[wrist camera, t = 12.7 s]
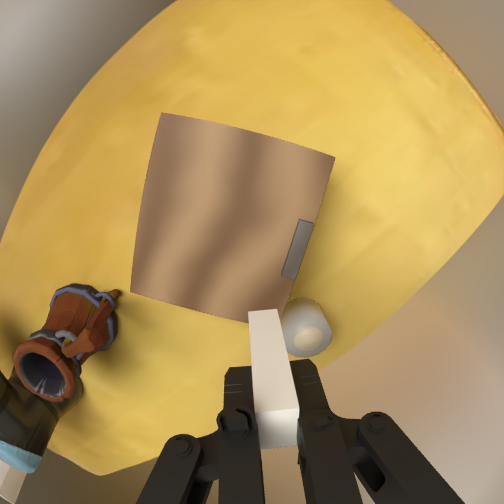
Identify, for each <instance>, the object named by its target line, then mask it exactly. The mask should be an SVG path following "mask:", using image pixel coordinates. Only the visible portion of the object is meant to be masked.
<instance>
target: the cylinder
mask: <svg viewBox="0 0 504 504" xmlns="http://www.w3.org/2000/svg"><path fill="white" fill-rule="evenodd" d="M25 476H26V473H25V472H22V471H20V470H17V469H15V468H13V467H12V466H10V465H8V464H6V463H5V462H3V461H2V460H0V496H1V497H2V498H4V499H5V500H7V501H9V502H10V503H12V504H15V502H16V499H17V496H18V493H19V491H20V488H21V486H22V483H23V481H24V478H25Z"/></svg>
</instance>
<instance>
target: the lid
mask: <svg viewBox="0 0 504 504" xmlns="http://www.w3.org/2000/svg"><path fill="white" fill-rule="evenodd" d="M334 161H335V157H333V156H330V155H327V154H325V153H322V152H319V151H316V150H313V149H310V148H307V147H304V146H300V145H297V144H294V143H291V142H288V141H284V140H281V139H277V138H274V137H270V136H267V135H263V134H260V133H256V132H252V131H248V130H244V129H240V128H236V127H232V126H228V125H224V124H219V123H215V122H210V121H205V120H200V119H195V118H190V117H185V116H180V115H174V114H168V113H162V112H161V115H160V119H159V123H158V127H157V131H156V135H155V139H154V143H153V147H152V151H151V156H150V160H149V165H148V170H147V175H146V180H145V185H144V190H143V195H142V201H141V207H140V213H139V220H138V226H137V233H136V241H135V248H134V257H133V266H132V276H131V287H130V292H132V293H136V294H139V295H142V296H145V297H149V298H152V299H156V300H159V301H163V302H166V303H170V304H173V305H177V306H181V307H184V308H188V309H192V310H196V311H199V312H203V313H207V314H211V315H215V316H219V317H223V318H228V319H232V320H236V321H240V322H245V323H249V319H248V312H249V311H260V310H270V309H277V311H278V315H279V319H281V316H282V314H283V311H284V308H285V306H286V303H287V300H288V298H289V295H290V292H291V290H292V287H293V284H294V281H295V279H296V276H297V273H298V270H299V268H300V265H301V262H302V259H303V256H304V253H305V250H306V248H307V245H308V242H309V239H310V236H311V233H312V230H313V227H314V224H315V221H316V218H317V215H318V212H319V209H320V206H321V203H322V200H323V196H324V193H325V190H326V187H327V184H328V180H329V177H330V174H331V171H332V167H333V164H334Z"/></svg>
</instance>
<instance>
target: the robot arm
mask: <svg viewBox="0 0 504 504" xmlns="http://www.w3.org/2000/svg"><path fill="white" fill-rule="evenodd" d="M248 319H249V334H250V350H251V365H252V366H243V367H230V368H229V369H228V371H227V373H226V374H225V380H224V407H223V410H222V411H221V412H220V413H219V414H218V416H217V419H216V421H217V425H218V428H219V429H218V430H217V431H215V432H214V433H212V434H209V435H207V436H203V437H199V438H195V437H193V436H191V435H188V434H179V435H175V436H173V437H172V438H170V439H169V440H168V441H167V442H166V444H165V446H164V448H163V450H162V452H161V454H160V456H159V458H158V460H157V462H156V464H155V466H154V468H153V470H152V472H151V474H150V476H149V478H148V480H147V482H146V484H145V486H144V488H143V490H142V492H141V494H140V496H139V498H138V500H137V502H136V504H206V501H207V498H208V495H209V492H210V489H211V487H212V484H213V481H214V480H217V479H219V499H218V502H219V503H218V504H265V496H264V495H265V494H264V483H263V471H262V460H261V451H260V449H270V448H279V447H288V446H295V445H297V444H298V449H299V455H298V464H300V469H301V475H302V481H303V486H304V492H305V498H306V504H363V502H362V499H361V495H360V492H359V488H358V485H357V481H356V478H355V475H354V473H355V474H356V475H357V477H358V479H359V480H360V482H361V483H362V485H363V486H364V488H365V489H366V491H367V492H368V494H369V495H370V496H371V498H372V499H373V501H374V502H375V504H465V503H464V502H463V501H462V500H461V498H460V497H459V496H458V495H457V494H456V493H455V491H454V490H453V489H452V488H451V487H450V486H449V484H448V483H447V482H446V481H445V480H444V479H443V478H442V476H441V475H440V474H439V473H438V472H437V471H436V469H435V468H434V467H433V466H432V465H431V464H430V462H429V461H428V460H427V459H426V458H425V457H424V455H423V454H422V453H421V452H420V451H419V450H418V449H417V447H416V446H415V445H414V444H413V443H412V442H411V440H410V439H409V438H408V437H407V436H406V435H405V433H403V431H402V430H401V429H400V428H399V426H398V425H397V424H396V423H395V422H394V421H393V420H392V418H391V417H390V416H388V415H387V414H385V413H382V412H371V413H367V414H366V415H365V416H363V417H362V419H346V418H341V417H339V416H337V415H335V414H334V413H333V412H332V411H331V410H330V408H329V405H328V402H327V399H326V396H325V393H324V389H323V386H322V383H321V380H320V377H319V374H318V371H317V368H316V365H315V364H314V363H313V362H312V361H311V360H310V359H303V360H295V361H289V359H288V355H287V350H286V346H285V341H284V337H283V333H282V328H281V324H280V319H279V315H278V311H277V309H270V310H260V311H249V312H248ZM82 393H83V386H82V382H81V380H80V378H79V377H78V379H77V381H76V389H75V391H74V393H73V395H72V397H71V399H70V398H65V399H64V402H52V401H49V400H46V399H43V398H42V397H40V396H39V395H37V394H33V393H32V392H31V391H30V390H28V389H27V388H26V387H25V386H24V384H23V383H22V381H21V380H20V378H19V376H18V375H17V373H16V370H15V366H13V370H12V373H11V377H10V378H9V379H8V380H7V379H6V377H5V376H4V375H3V373H2V372H1V371H0V460H2V461H3V462H5V463H6V464H8V465H10V466H12V467H13V468H15V469H17V470H20V471H22V472H25V473H32V472H34V471H35V469H36V468H37V466H38V464H39V462H40V461H41V460H42V458H43V457H42V456H43V454H44V451H45V449H46V447H47V444H48V442H49V440H50V438H51V435H52V433H53V431H54V429H55V427H56V424H57V422H58V420H59V419H60V417H61V416H62V415H64V414H65V413H66V412H67V411H68V410H69V409H71V408H72V407H73V406H74V405H75V404H77V402H78V401H79V399H80V397H81V395H82Z"/></svg>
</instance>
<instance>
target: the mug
mask: <svg viewBox="0 0 504 504" xmlns="http://www.w3.org/2000/svg"><path fill="white" fill-rule="evenodd" d="M118 296H119V292H118V291H117V290H116V289H114V290H112V291H110V292H108V293H104V292H99V293H98V292H97V291H96V290H95V289H93V288H92V287H91V286H89V285H81V284H70V285H67V286H65V287H62V288H60V289H58V290H56V292H55V294H54V296H53V298H52V300H51V303H50V311H49V314H48V318H47V320H46V323H45V325H44V326H43V327H42V329H41V330H39V331H36V332H34V333H32V334H31V335H30V337H29V340H28V341H26V342H24V343H21V344H19V346H17V348H16V350H15V352H14V355H13V361H14V366H15V370H16V373H17V375H18V376H19V378H20V380H21V381H22V383H23V384H24V386H25V387H26V388H27V389H28V390H30V391H31V392H32V393H33V394H37V395H39V396H40V397H42V398H43V399H46V400H49V401H52V402H64V399H65V398H70V399H71V397H72V395H73V393H74V391H75V389H76V381H77V379H78V377H79V376H80V374H81V372H82V368H81V365H82V364H83V363H84V362H85V361H86V360H87V358H88V357H89V356H91V355H92V354H94V353H96V352H97V351H104V350H107V349H108V347H109V346H110V344H111V343H112V341H113V340H114V339H115V337H116V334H117V318H116V314H115V313H114V311H113V309H114V308H115V302H114V301H113V300H114V299H115V298H117V297H118ZM110 304H111V305H110Z"/></svg>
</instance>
